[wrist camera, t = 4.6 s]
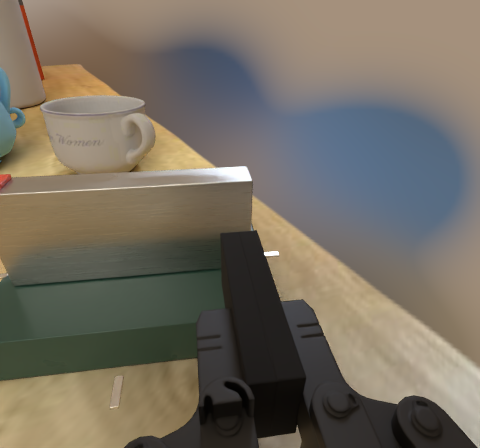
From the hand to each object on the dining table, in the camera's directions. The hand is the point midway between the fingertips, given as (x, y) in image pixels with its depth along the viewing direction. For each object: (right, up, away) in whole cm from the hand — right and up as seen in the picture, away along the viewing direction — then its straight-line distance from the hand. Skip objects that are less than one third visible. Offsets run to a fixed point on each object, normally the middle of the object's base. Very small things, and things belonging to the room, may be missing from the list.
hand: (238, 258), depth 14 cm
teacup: (-15, +8, +26) cm, 31 cm away
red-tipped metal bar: (-6, -1, +7) cm, 10 cm away
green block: (-6, -4, +9) cm, 11 cm away
